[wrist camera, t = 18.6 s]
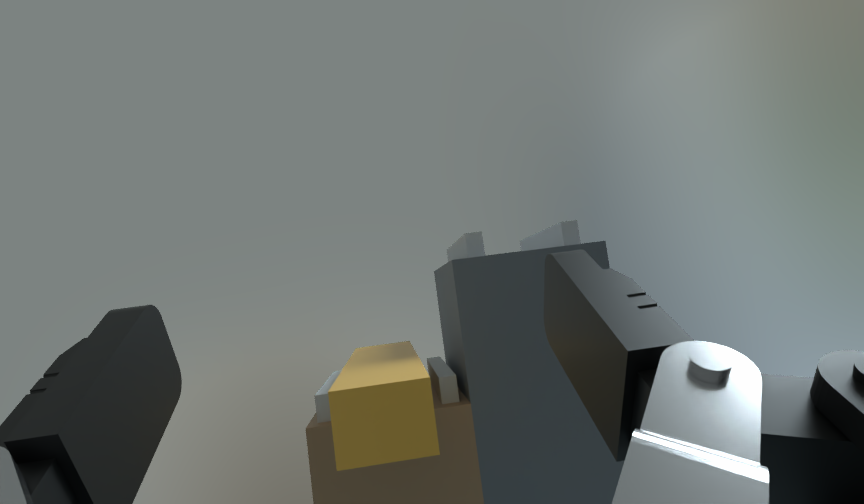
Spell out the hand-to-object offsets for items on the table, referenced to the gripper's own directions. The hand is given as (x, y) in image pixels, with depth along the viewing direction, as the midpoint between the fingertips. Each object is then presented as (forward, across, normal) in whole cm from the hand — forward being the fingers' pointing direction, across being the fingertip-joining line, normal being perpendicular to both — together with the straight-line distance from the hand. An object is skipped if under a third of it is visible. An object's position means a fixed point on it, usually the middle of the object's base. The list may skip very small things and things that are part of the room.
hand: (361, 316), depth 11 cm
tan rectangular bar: (+14, 0, +15) cm, 20 cm away
